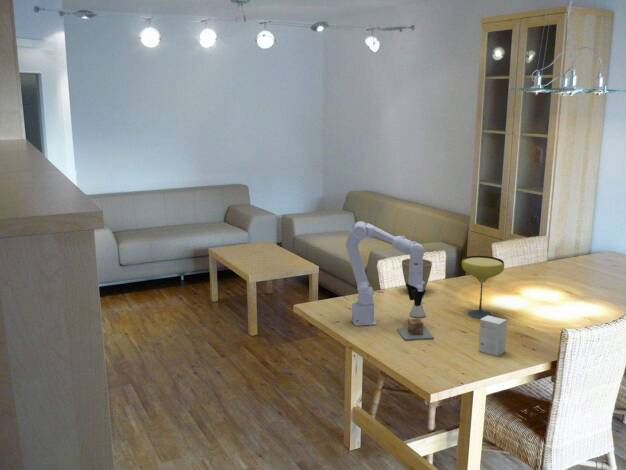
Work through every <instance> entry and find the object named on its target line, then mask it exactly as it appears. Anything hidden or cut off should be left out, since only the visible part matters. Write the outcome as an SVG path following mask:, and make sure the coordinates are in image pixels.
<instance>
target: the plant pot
mask: <svg viewBox="0 0 626 470" xmlns="http://www.w3.org/2000/svg"><path fill="white" fill-rule="evenodd" d="M409 261H410V258H405V259H402V260H401V267H402V275H403V280H404V283H405V284H406V283H408V277H409ZM432 267H433V262H432V261H431V260H429V259H426V258H425V259H424V258H423V279H422V281H424V282H425V284H423V290H425V291H426V287H427V286H428V282H429V279H430V275H431V271H432ZM406 290H407V291H408V289H407V288H406Z"/></svg>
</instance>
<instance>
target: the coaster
mask: <svg viewBox="0 0 626 470" xmlns="http://www.w3.org/2000/svg"><path fill="white" fill-rule="evenodd" d="M396 331H397V333H398V334H399V335H400V336H401V338H402V339H403V341H404V342H409V341H410V342H411V341H426V340H434V339H435V338H434V336H433V335H432V333H430V331H429V330H428V329H427V328H426V326H423V335H411V334H410V333H409V332H408V327H397V328H396Z"/></svg>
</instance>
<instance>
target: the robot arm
mask: <svg viewBox="0 0 626 470" xmlns="http://www.w3.org/2000/svg"><path fill="white" fill-rule="evenodd" d="M366 236H367V239H370V238H374V237H375V238H378V239H380V240H381V241H384V242H387V243H390V244H391V245H392V248H393V249H395V250H397V251H398V252H399V251H400V252H402V253H404V254H406V255H409V259H410V261H409V277H408V283H406V284H405V287H406V290H407V289H408V290H407V293H408V299H409V301H413V304H414V303H415V306H420V305H421V301H422V300H423V298H424V296H425V294H426V293H427V292H426V289H425V290H423V284H425V282H424V281H422V279H423V259H424V256H425V255H424V254H425V252H424V246H423V245H422V244H421V243H419V242H417V241H415V240H413V241H412V240H410V239H407V238H406V236H405V235H397V236H395V235H393V234H390V233H388V232H386V231H385V230H383V229H380V228H379V227H377V226H376V225H374V224H371V223H368V222H365V221H363V220H359V221H356V222H355V223H354V224H353V225H352V226H351V228H350V231H349V233H348V235H347V239H346V241H345V248H346V251H347V255H348V257H349V262H350V265H351V269H352V272H353V275H354V278H355V279H354V280H355V282H356V285H357V286H356V288H357V292H358V295H357V302H354V303H352V304H351V319H350V320H351V321H352V323H353V326H356V327H357V326H358V327H359V326H373V325H374V326H376V325H377V322H376V320H375V301H374V300H373V296H374V294H375V291H374V287H372V286H371V284H370V282H369V280H368V277H367V274H366V271H365V267H364V264H363V263H364V262H363V260H362V256H361V253H360V250H359V247H358V246H359V244H360V243H361V241H363V240H364V239H365V238H366ZM422 302H423V301H422Z"/></svg>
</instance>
